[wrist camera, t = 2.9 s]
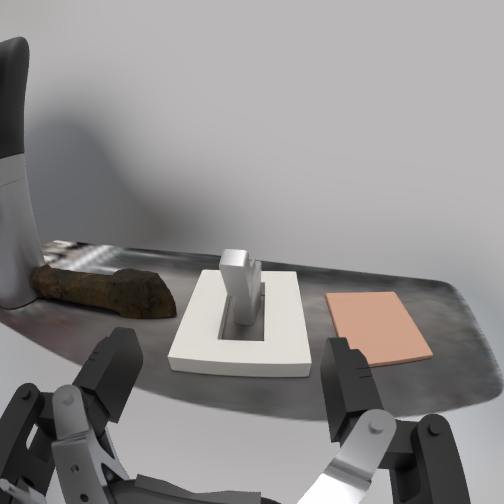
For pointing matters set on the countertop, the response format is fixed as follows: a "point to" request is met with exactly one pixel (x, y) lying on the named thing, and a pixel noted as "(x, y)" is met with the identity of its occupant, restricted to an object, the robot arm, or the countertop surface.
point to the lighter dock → (243, 352)
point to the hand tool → (108, 291)
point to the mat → (377, 327)
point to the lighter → (242, 284)
